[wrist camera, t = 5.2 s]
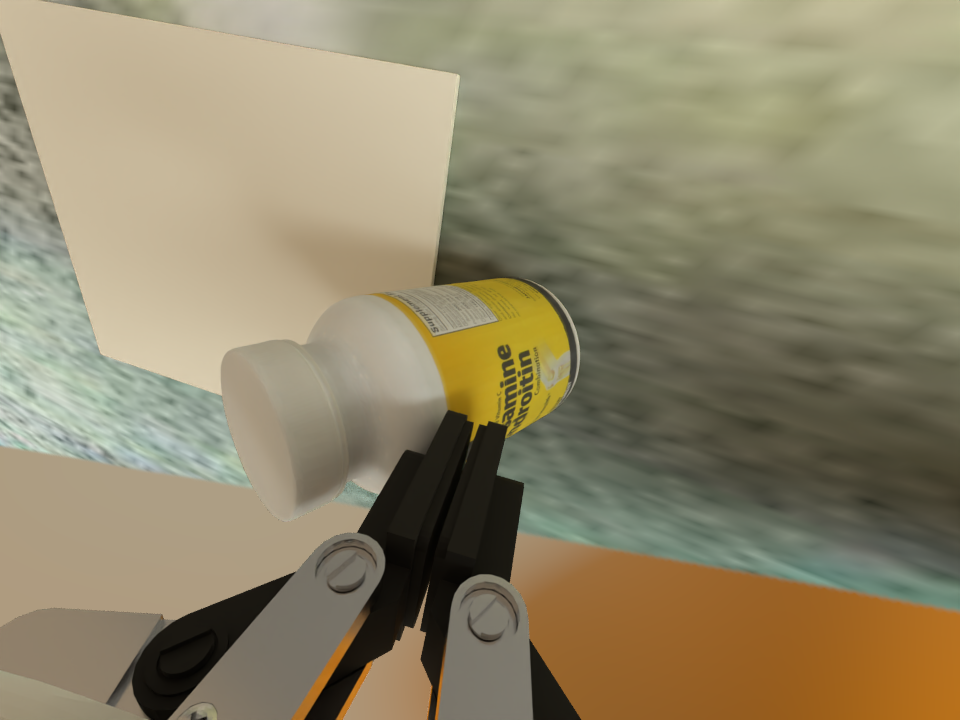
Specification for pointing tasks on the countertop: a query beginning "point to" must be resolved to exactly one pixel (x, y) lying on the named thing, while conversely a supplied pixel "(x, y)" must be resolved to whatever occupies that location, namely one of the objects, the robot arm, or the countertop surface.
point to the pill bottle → (392, 384)
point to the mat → (226, 178)
